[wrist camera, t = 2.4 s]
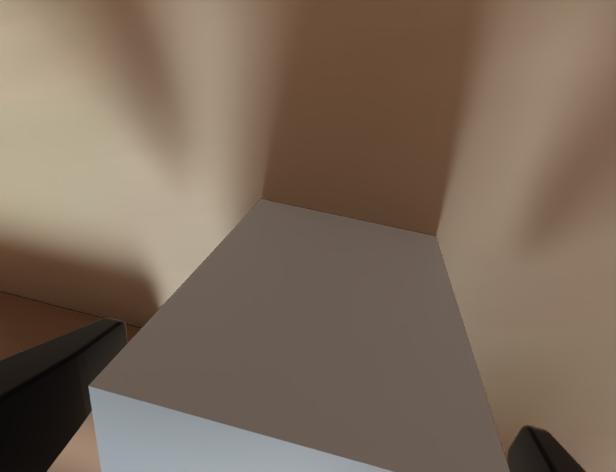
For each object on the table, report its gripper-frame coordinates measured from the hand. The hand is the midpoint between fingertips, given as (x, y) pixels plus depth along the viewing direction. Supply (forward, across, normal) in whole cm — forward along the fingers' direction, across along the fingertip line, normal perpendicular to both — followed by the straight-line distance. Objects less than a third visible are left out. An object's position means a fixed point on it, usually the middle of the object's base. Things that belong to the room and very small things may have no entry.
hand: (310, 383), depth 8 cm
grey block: (+4, 0, 0) cm, 4 cm away
